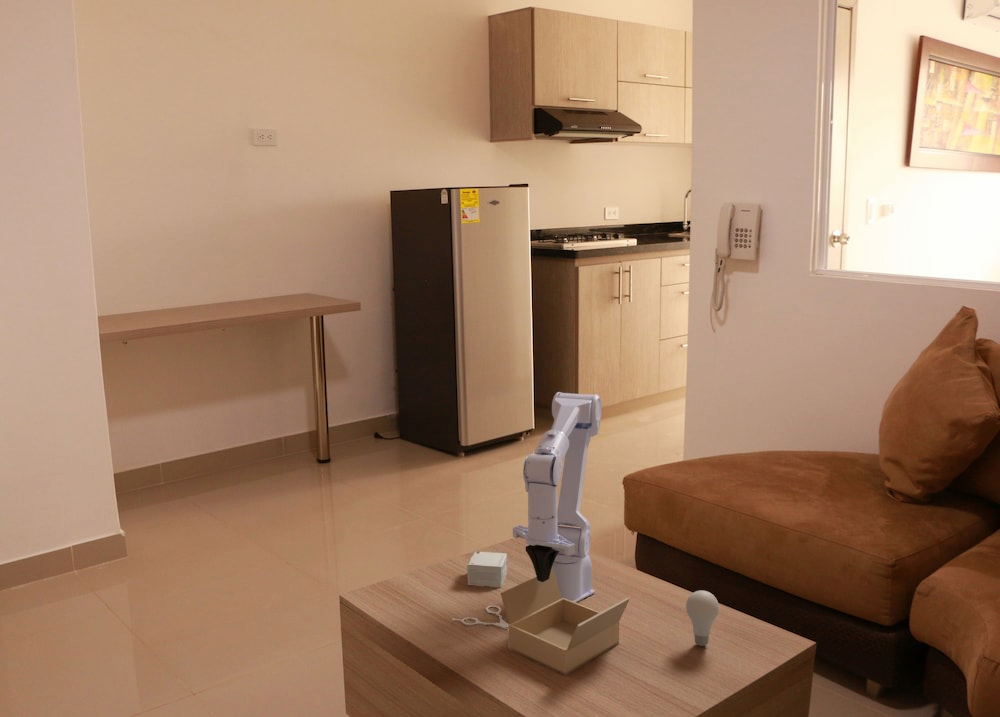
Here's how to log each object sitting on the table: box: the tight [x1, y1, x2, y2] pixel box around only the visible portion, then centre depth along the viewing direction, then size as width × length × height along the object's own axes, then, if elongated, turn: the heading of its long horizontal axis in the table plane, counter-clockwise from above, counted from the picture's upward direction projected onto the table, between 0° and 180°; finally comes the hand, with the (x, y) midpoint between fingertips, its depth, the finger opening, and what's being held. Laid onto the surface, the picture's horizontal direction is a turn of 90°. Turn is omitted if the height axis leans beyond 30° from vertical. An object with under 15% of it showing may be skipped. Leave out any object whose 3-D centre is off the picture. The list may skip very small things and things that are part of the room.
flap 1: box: [500, 569, 561, 625], centre depth 176 cm, size 15×6×1 cm
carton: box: [508, 598, 620, 677], centre depth 171 cm, size 16×14×5 cm
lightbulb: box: [685, 589, 720, 648], centre depth 170 cm, size 6×6×11 cm
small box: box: [466, 551, 508, 588], centre depth 202 cm, size 8×8×5 cm
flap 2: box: [567, 596, 630, 651], centre depth 165 cm, size 15×6×1 cm
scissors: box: [451, 604, 510, 632], centre depth 180 cm, size 11×1×20 cm
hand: (543, 579), depth 177 cm, fingers closed
